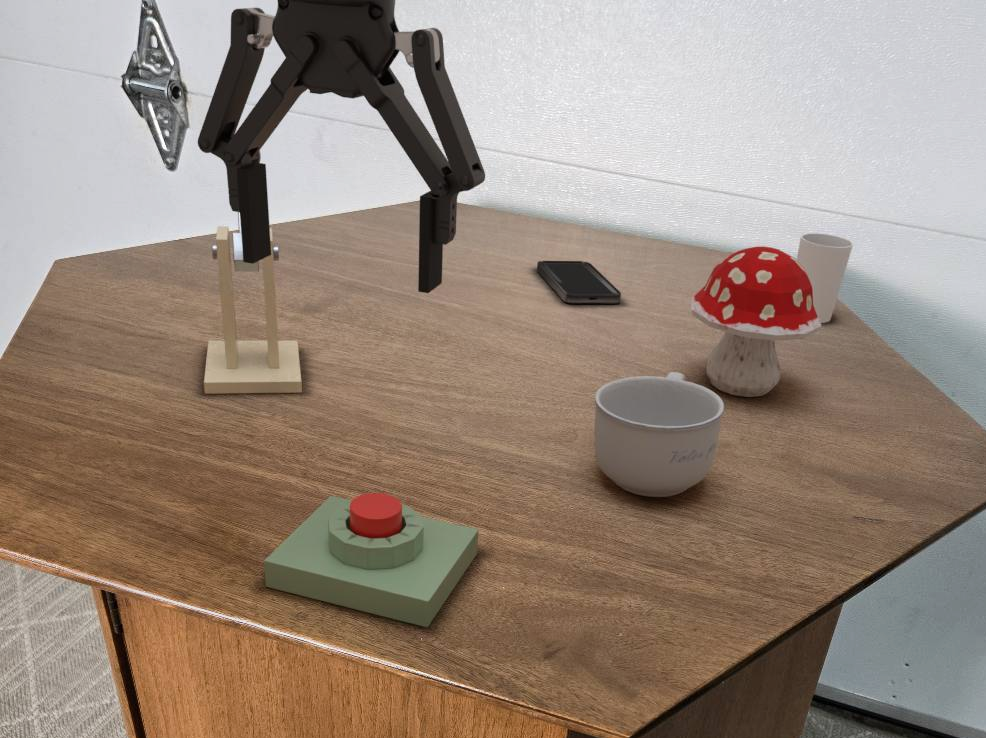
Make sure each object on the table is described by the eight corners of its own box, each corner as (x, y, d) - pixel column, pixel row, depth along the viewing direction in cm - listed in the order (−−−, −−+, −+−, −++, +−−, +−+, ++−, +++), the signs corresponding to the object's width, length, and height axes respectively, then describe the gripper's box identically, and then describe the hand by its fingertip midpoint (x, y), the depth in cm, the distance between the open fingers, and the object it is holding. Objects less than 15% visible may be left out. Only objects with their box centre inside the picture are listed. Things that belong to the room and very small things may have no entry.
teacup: (680, 524, 80) (697, 436, 76) (563, 485, 84) (573, 399, 80) (736, 463, 91) (753, 383, 87) (630, 430, 95) (642, 352, 91)
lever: (222, 146, 96) (219, 125, 92) (260, 148, 97) (259, 127, 93) (228, 274, 94) (225, 257, 90) (266, 274, 95) (265, 258, 91)
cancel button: (341, 533, 68) (340, 511, 67) (363, 509, 71) (363, 488, 70) (389, 545, 67) (389, 523, 66) (409, 520, 70) (410, 499, 69)
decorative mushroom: (650, 374, 108) (671, 236, 100) (736, 354, 116) (762, 225, 108) (743, 422, 99) (775, 275, 91) (830, 397, 107) (866, 260, 99)
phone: (588, 261, 139) (623, 295, 127) (587, 269, 140) (622, 303, 128) (534, 260, 137) (565, 294, 125) (534, 268, 138) (564, 303, 126)
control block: (265, 586, 68) (262, 537, 66) (331, 519, 76) (330, 474, 74) (427, 628, 65) (429, 578, 63) (477, 554, 74) (480, 508, 72)
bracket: (209, 351, 102) (196, 216, 95) (297, 351, 105) (292, 219, 97) (204, 394, 93) (190, 248, 86) (301, 392, 96) (295, 251, 88)
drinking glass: (824, 327, 127) (843, 250, 122) (776, 314, 130) (793, 238, 125) (841, 316, 132) (860, 241, 127) (794, 304, 135) (811, 230, 130)
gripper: (117, -91, 59) (159, 259, 70) (510, -53, 55) (489, 315, 66) (187, -85, 66) (216, 235, 77) (545, -50, 61) (521, 285, 72)
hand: (342, 273), depth 71 cm, fingers open, 13 cm apart
